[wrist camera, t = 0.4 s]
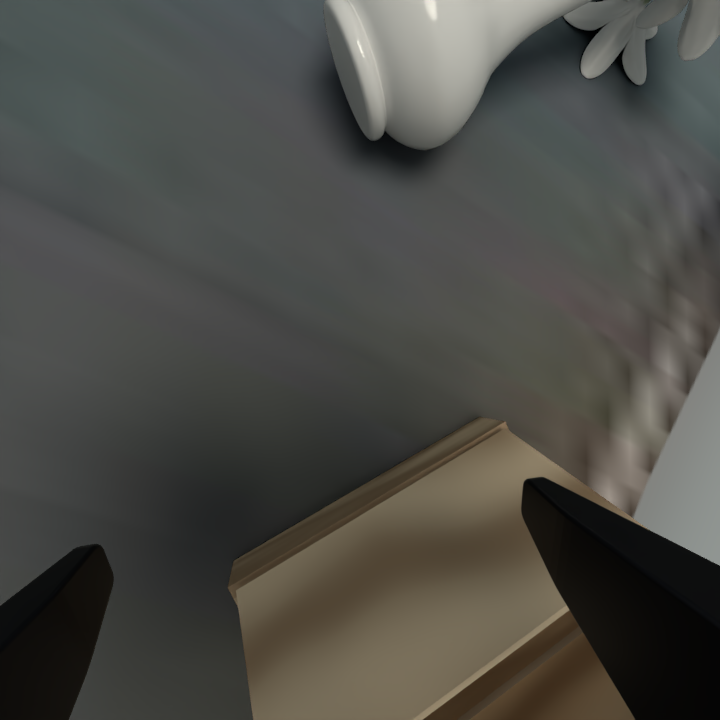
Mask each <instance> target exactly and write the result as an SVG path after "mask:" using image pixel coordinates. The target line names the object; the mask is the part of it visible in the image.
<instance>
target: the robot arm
mask: <svg viewBox="0 0 720 720" xmlns="http://www.w3.org/2000/svg"><path fill="white" fill-rule="evenodd" d="M521 513H522V517H523V520H524V522H525V524H526V526H527V528H528V530H529V532H530V534H531V537H532V539H533V541H534V543H535V545H536V547H537V549H538V551H539V553H540V556H541V558H542V560H543V562H544V564H545V566H546V568H547V570H548V572H549V575H550V577H551V579H552V580H553V582H554V584H555V586H556V588H557V590H558V592H559V593H560V595H561V597H562V598H563V600H564V602H565V603H566V605H567V607H568V608H569V610H570V612H571V613H572V615H573V617H574V618H575V620H576V622H577V623H578V625H579V627H580V628H581V630H582V632H583V633H584V635H585V637H586V638H587V640H588V642H589V643H590V645H591V647H592V648H593V650H594V652H595V653H596V655H597V657H598V658H599V660H600V662H601V663H602V665H603V667H604V668H605V670H606V672H607V673H608V675H609V677H610V678H611V680H612V682H613V683H614V685H615V687H616V688H617V690H618V692H619V693H620V695H621V697H622V698H623V700H624V702H625V703H626V705H627V707H628V709H629V710H630V712H631V714H632V715H633V717H634V719H635V720H720V566H719V565H717V564H715V563H713V562H711V561H709V560H707V559H705V558H703V557H701V556H699V555H697V554H695V553H693V552H691V551H690V550H688V549H686V548H683V547H682V546H680V545H678V544H676V543H674V542H672V541H670V540H668V539H666V538H664V537H662V536H660V535H658V534H656V533H653V532H652V531H650V530H648V529H646V528H644V527H642V526H640V525H638V524H636V523H634V522H632V521H630V520H628V519H626V518H624V517H622V516H620V515H618V514H616V513H614V512H612V511H610V510H608V509H606V508H604V507H602V506H600V505H598V504H597V503H595V502H593V501H591V500H589V499H587V498H585V497H583V496H581V495H579V494H577V493H575V492H573V491H571V490H569V489H567V488H565V487H563V486H561V485H559V484H557V483H555V482H553V481H551V480H549V479H547V478H545V477H535V478H529V479H526V480H525V481H524V483H523V490H522V502H521ZM113 581H114V577H113V572H112V569H111V567H110V564H109V562H108V559H107V557H106V554H105V552H104V549H103V548H102V546H101V545H99V544H92V545H86V546H80V547H77V548H75V549H73V550H72V551H71V552H69V553H68V554H67V555H66V556H64V557H63V558H62V559H60V560H59V561H58V562H56V563H55V564H54V565H53V566H51V567H50V568H49V569H47V570H46V571H45V572H44V573H42V574H41V575H40V576H38V577H37V578H36V579H34V580H33V581H32V582H31V583H29V584H28V585H27V586H25V587H24V588H23V589H22V590H20V591H19V592H18V593H16V594H15V595H14V596H12V597H11V598H10V599H9V600H7V601H6V602H5V603H3V604H2V605H1V606H0V720H69V717H70V715H71V712H72V710H73V707H74V705H75V702H76V700H77V697H78V695H79V692H80V689H81V687H82V684H83V682H84V679H85V676H86V674H87V671H88V668H89V665H90V662H91V659H92V656H93V652H94V649H95V645H96V642H97V639H98V635H99V632H100V628H101V625H102V621H103V618H104V614H105V611H106V607H107V604H108V601H109V597H110V594H111V590H112V587H113Z"/></svg>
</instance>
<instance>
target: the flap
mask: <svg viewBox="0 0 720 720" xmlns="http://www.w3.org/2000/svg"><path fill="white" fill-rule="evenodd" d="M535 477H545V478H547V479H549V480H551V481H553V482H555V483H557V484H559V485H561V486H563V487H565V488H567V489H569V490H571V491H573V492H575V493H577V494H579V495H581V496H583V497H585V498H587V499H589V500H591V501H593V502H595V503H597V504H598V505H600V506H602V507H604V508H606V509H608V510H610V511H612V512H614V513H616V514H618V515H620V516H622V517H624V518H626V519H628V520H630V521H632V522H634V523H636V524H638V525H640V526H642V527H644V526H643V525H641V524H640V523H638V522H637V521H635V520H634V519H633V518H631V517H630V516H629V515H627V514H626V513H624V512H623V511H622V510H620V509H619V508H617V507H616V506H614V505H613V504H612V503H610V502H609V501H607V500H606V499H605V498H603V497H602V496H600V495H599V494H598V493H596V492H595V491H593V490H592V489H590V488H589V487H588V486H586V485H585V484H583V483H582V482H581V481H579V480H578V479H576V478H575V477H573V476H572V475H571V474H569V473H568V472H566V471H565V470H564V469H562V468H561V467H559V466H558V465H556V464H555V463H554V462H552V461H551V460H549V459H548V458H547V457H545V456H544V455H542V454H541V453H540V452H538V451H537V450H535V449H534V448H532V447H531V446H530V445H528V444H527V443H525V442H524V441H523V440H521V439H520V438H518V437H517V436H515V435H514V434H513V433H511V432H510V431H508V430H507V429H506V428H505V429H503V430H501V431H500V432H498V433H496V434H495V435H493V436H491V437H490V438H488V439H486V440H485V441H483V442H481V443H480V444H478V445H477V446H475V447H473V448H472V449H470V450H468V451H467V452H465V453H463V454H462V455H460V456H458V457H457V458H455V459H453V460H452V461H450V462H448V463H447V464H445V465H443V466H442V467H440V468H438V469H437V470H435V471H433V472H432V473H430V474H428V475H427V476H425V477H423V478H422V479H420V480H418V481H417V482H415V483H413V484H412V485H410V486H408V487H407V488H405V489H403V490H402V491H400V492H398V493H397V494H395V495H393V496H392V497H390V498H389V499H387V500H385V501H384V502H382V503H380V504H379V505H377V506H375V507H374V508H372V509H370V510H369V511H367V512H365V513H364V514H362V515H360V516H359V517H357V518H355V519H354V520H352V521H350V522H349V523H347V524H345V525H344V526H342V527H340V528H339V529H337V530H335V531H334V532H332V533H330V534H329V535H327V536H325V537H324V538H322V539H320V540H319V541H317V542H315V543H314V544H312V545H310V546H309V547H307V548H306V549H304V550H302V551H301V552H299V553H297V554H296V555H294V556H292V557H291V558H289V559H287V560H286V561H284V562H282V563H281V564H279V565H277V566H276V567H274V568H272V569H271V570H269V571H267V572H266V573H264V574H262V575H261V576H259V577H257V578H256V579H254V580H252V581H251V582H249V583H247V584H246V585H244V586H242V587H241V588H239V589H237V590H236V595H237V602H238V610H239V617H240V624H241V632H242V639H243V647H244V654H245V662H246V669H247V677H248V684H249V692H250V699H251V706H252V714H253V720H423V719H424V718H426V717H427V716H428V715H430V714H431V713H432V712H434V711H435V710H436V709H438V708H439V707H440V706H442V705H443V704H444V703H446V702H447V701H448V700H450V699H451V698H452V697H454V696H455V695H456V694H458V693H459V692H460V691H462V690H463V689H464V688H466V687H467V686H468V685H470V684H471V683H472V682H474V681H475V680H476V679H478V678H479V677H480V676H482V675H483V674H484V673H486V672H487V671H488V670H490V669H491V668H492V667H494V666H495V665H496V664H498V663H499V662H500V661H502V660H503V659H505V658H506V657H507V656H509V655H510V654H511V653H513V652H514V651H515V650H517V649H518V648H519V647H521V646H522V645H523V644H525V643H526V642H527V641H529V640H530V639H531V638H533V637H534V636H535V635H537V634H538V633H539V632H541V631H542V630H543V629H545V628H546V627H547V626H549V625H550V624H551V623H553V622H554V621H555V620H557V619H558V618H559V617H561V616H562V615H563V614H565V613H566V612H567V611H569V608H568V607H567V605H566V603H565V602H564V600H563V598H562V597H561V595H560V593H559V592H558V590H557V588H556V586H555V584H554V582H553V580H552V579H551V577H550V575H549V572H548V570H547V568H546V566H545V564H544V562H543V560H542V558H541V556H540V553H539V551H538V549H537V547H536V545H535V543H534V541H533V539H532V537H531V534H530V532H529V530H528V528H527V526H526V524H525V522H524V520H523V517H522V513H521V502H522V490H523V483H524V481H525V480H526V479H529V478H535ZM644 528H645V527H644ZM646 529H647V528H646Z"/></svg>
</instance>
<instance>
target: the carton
mask: <svg viewBox="0 0 720 720" xmlns="http://www.w3.org/2000/svg"><path fill="white" fill-rule="evenodd" d="M505 428H506V429H507V430H508V431H509V429H508V427H507V424H506V422H504V421H499V420H494V419H488V418H483V417H478V418H477V419H475V420H473V421H472V422H470V423H468V424H466V425H465V426H463V427H461V428H460V429H458V430H456V431H454V432H453V433H451V434H449V435H448V436H446V437H444V438H443V439H441V440H439V441H437V442H436V443H434V444H432V445H431V446H429V447H427V448H425V449H424V450H422V451H420V452H419V453H417V454H415V455H413V456H412V457H410V458H408V459H407V460H405V461H403V462H402V463H400V464H398V465H396V466H395V467H393V468H391V469H390V470H388V471H386V472H384V473H383V474H381V475H379V476H378V477H376V478H374V479H373V480H371V481H369V482H367V483H366V484H364V485H362V486H361V487H359V488H357V489H355V490H354V491H352V492H350V493H349V494H347V495H345V496H343V497H342V498H340V499H338V500H337V501H335V502H333V503H332V504H330V505H328V506H326V507H325V508H323V509H321V510H320V511H318V512H316V513H314V514H313V515H311V516H309V517H308V518H306V519H304V520H303V521H301V522H299V523H297V524H296V525H294V526H292V527H291V528H289V529H287V530H285V531H284V532H282V533H280V534H279V535H277V536H275V537H273V538H272V539H270V540H268V541H267V542H265V543H263V544H262V545H260V546H258V547H256V548H255V549H253V550H251V551H250V552H248V553H246V554H244V555H243V556H241V557H239V558H238V559H236V560H234V561H233V566H232V570H231V575H230V579H229V584H228V589H229V591H230V593H231V595H232V597H233V599H234V601H235V602H236V604H237V606H238V602H237V595H236V590H237V589H239V588H241V587H242V586H244V585H246V584H247V583H249V582H251V581H252V580H254V579H256V578H257V577H259V576H261V575H262V574H264V573H266V572H267V571H269V570H271V569H272V568H274V567H276V566H277V565H279V564H281V563H282V562H284V561H286V560H287V559H289V558H291V557H292V556H294V555H296V554H297V553H299V552H301V551H302V550H304V549H306V548H307V547H309V546H310V545H312V544H314V543H315V542H317V541H319V540H320V539H322V538H324V537H325V536H327V535H329V534H330V533H332V532H334V531H335V530H337V529H339V528H340V527H342V526H344V525H345V524H347V523H349V522H350V521H352V520H354V519H355V518H357V517H359V516H360V515H362V514H364V513H365V512H367V511H369V510H370V509H372V508H374V507H375V506H377V505H379V504H380V503H382V502H384V501H385V500H387V499H389V498H390V497H392V496H393V495H395V494H397V493H398V492H400V491H402V490H403V489H405V488H407V487H408V486H410V485H412V484H413V483H415V482H417V481H418V480H420V479H422V478H423V477H425V476H427V475H428V474H430V473H432V472H433V471H435V470H437V469H438V468H440V467H442V466H443V465H445V464H447V463H448V462H450V461H452V460H453V459H455V458H457V457H458V456H460V455H462V454H463V453H465V452H467V451H468V450H470V449H472V448H473V447H475V446H477V445H478V444H480V443H481V442H483V441H485V440H486V439H488V438H490V437H491V436H493V435H495V434H496V433H498V432H500V431H501V430H503V429H505ZM582 633H583V632H582V630H581V628H580V627H579V625H578V623H577V622H576V620H575V618H574V617H573V615H572V613H571V612H570V610H569V611H567V612H566V613H565V614H563V615H562V616H561V617H559V618H558V619H557V620H555V621H554V622H553V623H551V624H550V625H549V626H547V627H546V628H545V629H543V630H542V631H541V632H539V633H538V634H537V635H535V636H534V637H533V638H531V639H530V640H529V641H527V642H526V643H525V644H523V645H522V646H521V647H519V648H518V649H517V650H515V651H514V652H513V653H511V654H510V655H509V656H507V657H506V658H505V659H503V660H502V661H500V662H499V663H498V664H496V665H495V666H494V667H492V668H491V669H490V670H488V671H487V672H486V673H484V674H483V675H482V676H480V677H479V678H478V679H476V680H475V681H474V682H472V683H471V684H470V685H468V686H467V687H466V688H464V689H463V690H462V691H460V692H459V693H458V694H456V695H455V696H454V697H452V698H451V699H450V700H448V701H447V702H446V703H444V704H443V705H442V706H440V707H439V708H438V709H436V710H435V711H434V712H432V713H431V714H430V715H428V716H427V717H426V718H424V719H423V720H470V719H471V718H472V717H474V716H475V715H476V714H478V713H479V712H480V711H482V710H483V709H484V708H485V707H487V706H488V705H489V704H491V703H492V702H493V701H495V700H496V699H497V698H498V697H500V696H501V695H502V694H504V693H505V692H506V691H508V690H509V689H510V688H511V687H513V686H514V685H515V684H517V683H518V682H519V681H521V680H522V679H523V678H524V677H526V676H527V675H528V674H530V673H531V672H532V671H534V670H535V669H536V668H537V667H539V666H540V665H541V664H543V663H544V662H545V661H547V660H548V659H549V658H550V657H552V656H553V655H554V654H556V653H557V652H558V651H560V650H561V649H562V648H563V647H565V646H566V645H567V644H569V643H570V642H571V641H573V640H574V639H575V638H576V637H578V636H579V635H580V634H582Z"/></svg>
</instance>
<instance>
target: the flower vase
mask: <svg viewBox="0 0 720 720" xmlns="http://www.w3.org/2000/svg"><path fill="white" fill-rule="evenodd" d="M590 1H592V0H325V1H324V4H323V14H324V21H325V28H326V32H327V37H328V41H329V45H330V49H331V53H332V56H333V60H334V63H335V66H336V70H337V73H338V76H339V79H340V82H341V85H342V87H343V90H344V93H345V95H346V98H347V101H348V103H349V105H350V108H351V110H352V113H353V115H354V117H355V119H356V121H357V123H358V125H359V127H360V129H361V130H362V132H363V133H364V135H365V136H366V137H367V138H368V139H369V140H371V141H376V140H379V139H380V138H381V137H382V136H383V134H384V132H386V133H387V134H388V135H389V136H390V137H392V138H393V139H394V140H395V141H397V142H399V143H401V144H403V145H405V146H408V147H411V148H415V149H419V150H431V149H434V148H436V147H438V146H440V145H442V144H444V143H446V142H447V141H449V140H450V139H451V138H452V137H454V136H455V135H456V134H457V133H458V132H459V131H460V130H461V129H462V128H463V127H464V126H465V124H466V123H467V121H468V120H469V118H470V117H471V115H472V113H473V112H474V110H475V108H476V106H477V104H478V103H479V101H480V99H481V97H482V94H483V92H484V90H485V88H486V85H487V83H488V81H489V78H490V77H491V75H492V74H493V72H494V71H495V70H496V68H497V67H498V66H499V65H500V64H501V63H502V61H503V60H504V59H505V58H506V57H507V56H508V55H509V54H510V53H511V52H512V51H513V50H514V49H515V48H516V47H517V46H518V45H519V44H520V43H521V42H523V41H524V40H525V39H526V38H528V37H529V36H531V35H532V34H534V33H535V32H536V31H538V30H540V29H541V28H543V27H544V26H546V25H548V24H549V23H551V22H553V21H555V20H556V19H558V18H560V17H562V16H563V17H564V19H566V21H567V22H568V23H570V24H571V25H573V26H574V27H576V28H579V29H582V30H596V29H598V28H600V27H602V26H604V25H605V26H604V27H603V28H602V29H601V30H600V31H599V32H598V33H597V34H596V35H595V37H594V38H593V39H592V40H591V42H590V43H589V45H588V46H587V48H586V50H585V51H584V54H583V56H582V60H581V66H580V68H581V73H582V75H583V76H584V77H585V78H588V79H591V78H595V77H597V76H599V75H601V74H602V73H603V72H604V71H605V70H606V69H607V68H608V67H609V66H610V65H611V64H612V63H613V61H614V60H615V59H616V57H617V56H618V55H619V53H620V52H621V51H622V49H623V48H624V47H625V49H624V52H623V55H622V63H623V67H624V70H625V72H626V74H627V76H628V77H629V79H630V80H631V81H632V82H634V83H635V84H637V85H641V84H643V83H644V82H645V80H646V75H647V68H646V54H645V40H646V39H651V38H653V37H654V36H655V34H656V33H657V29H658V27H657V26H658V25H660V24H663V23H665V22H667V21H668V20H670V19H672V18H674V17H675V16H676V15H678V14H679V13H680V12H681V11H682V10H683V9H684V7H685V6H686V4H687V3H688V1H689V0H654V1H653V2H651V3H650V4H649V5H648V6H647V7H646V8H645V6H646V5H647V3H648V2H649V1H650V0H603V1H600V2H590ZM606 24H607V25H606ZM719 35H720V0H690V1H689V4H688V8H687V11H686V14H685V17H684V20H683V23H682V26H681V30H680V33H679V38H678V45H677V47H678V54H679V57H680V58H681V59H682V60H684V61H689V60H694V59H696V58H698V57H699V56H701V55H702V54H703V53H704V52H705V51H706V50H708V49H709V48H710V46H711V45H712V44H713V43H714V42H715V40H716V39H717V37H718V36H719ZM625 45H626V46H625Z"/></svg>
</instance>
